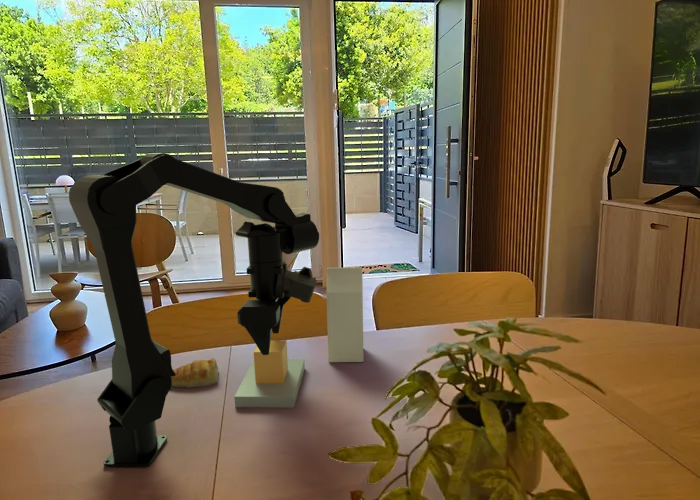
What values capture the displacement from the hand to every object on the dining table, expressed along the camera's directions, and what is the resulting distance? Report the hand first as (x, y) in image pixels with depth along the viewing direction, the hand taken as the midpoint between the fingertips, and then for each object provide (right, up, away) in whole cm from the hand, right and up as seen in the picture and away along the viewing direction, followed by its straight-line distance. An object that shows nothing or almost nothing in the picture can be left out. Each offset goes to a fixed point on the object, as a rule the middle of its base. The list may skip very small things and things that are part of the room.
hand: (271, 343), depth 83 cm
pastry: (-15, -8, +5) cm, 18 cm away
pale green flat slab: (0, -8, +2) cm, 8 cm away
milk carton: (+13, -6, +14) cm, 20 cm away
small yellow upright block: (0, -6, +1) cm, 6 cm away
